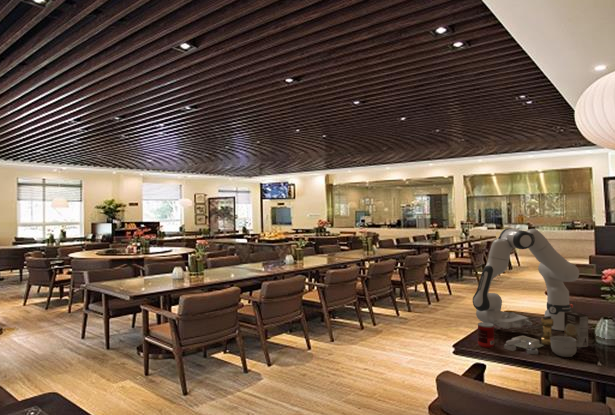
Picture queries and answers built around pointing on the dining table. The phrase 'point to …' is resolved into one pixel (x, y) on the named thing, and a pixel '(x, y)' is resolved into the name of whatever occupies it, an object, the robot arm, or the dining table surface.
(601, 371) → the dining table surface
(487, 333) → the canned food
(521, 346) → the coupling seat
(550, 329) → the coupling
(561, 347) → the teacup
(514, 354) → the dining table surface
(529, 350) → the shaft
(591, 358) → the dining table surface
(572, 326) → the coffee box
